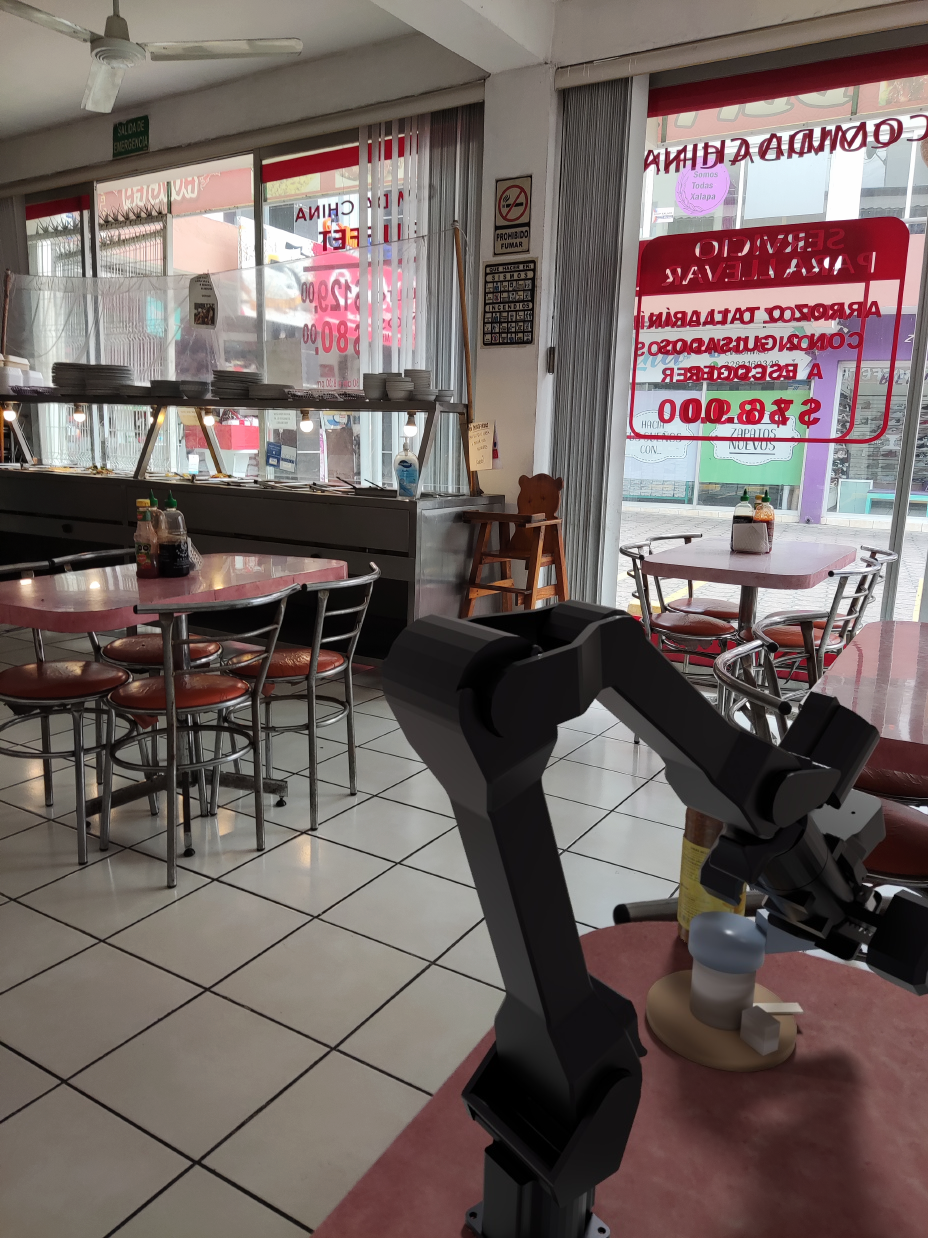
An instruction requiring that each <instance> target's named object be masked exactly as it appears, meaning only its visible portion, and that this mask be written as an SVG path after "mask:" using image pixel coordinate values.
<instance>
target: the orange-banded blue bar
mask: <svg viewBox="0 0 928 1238" xmlns="http://www.w3.org/2000/svg"><path fill="white" fill-rule="evenodd" d="M768 914H769V912H767V910H766V909H765V908H760V909H756V914H755V917H756V918H755V921H754V920H752V919H750V918H748V917H746V916H745V915H744V916H741V915H738V914H734V913H729V912H721V911H711V912H704V913H701V914H698V915H696V916H695V917H694V918H692V920H691V922H690V931H689V943H688V945H687V948H688V951H689V954H690V956H691V957H692V958H694V959H695V960H697V961H698V962H699V963H701V964H703V965H704V966H706V967H708V968H711V969H713V970H716V971H720V972H724V973H731V974H745V973H750V972H754V971H756V970H757V971H758V970H760V968H762V967H763V966H764V964H765V963H764V962H765V955H772V954H775V955H776V954H785V953H795V952H804V951H806V952H807V951H816V950H820V949H819V948H817V947H815V946H814V944H815V943H813V942H809V941H806V940H803V939H799V938H797V937H794V936H792V935H790V934H788V933H786V932H784V931H782V930H780V929H778V928H776V927H774V926H772V925H770V924H769V922H768V920H767V916H768ZM757 971H756V972H757Z"/></svg>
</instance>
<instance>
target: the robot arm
mask: <svg viewBox="0 0 928 1238" xmlns="http://www.w3.org/2000/svg"><path fill="white" fill-rule="evenodd" d="M645 630H646V629H645V628H644V626H643V624H642V623H641V621H639V620H638V619H637V618H635V617H634V616H633V614H630V612H628V611H626V610H624V609H622V608H616V607H611V606H607V605H602V604H598V603H593V602H589V601H585V600H580V599H567V600H564V601H559V602H557V601H556V602H554V603H552V604H548V605H544V606H540V607H537V608H531V609H523V610H514V611H513V610H512V611H506V612H496V613H495V612H493V613H485V614H476V615H471V616H468V617H463V618H457V617H453V616H450V615H446V614H436V613H435V614H432V613H431V614H429V615H424V616H422V617H419V618H416V619H415V620H414V621H412V622H411V623H409V625H407V626H406V627H404V628H403V629H402V630H401V632H400V633H399V635H397V637H396V638H395V640H394V641H393V642H392V645H391V646H390V649H389V652H388V655H386V656H387V657H386V658H384V659H383V660H382V662H381V667H380V680H381V687H382V693H383V696H384V698H385V700H386V702H387V704H388V706H389V708H390V710H391V713H392V714H393V716H394V717H395V720H396V721H397V724H398V725H399V728H400V730H401V731H402V733H403V734H404V737H405V739H406V740H407V743H408V744H409V745H410V746H411V748H412V749H413V751H414V752H415V753H416V754H417V756H418V757H419V759H421V761H422V762H423V764H424V765H425V766H426V767H427V769H428V770H429V771H430V772H431V773H432V775H433V776H434V777H435V779H436V780H437V781H438V783H440V785H441V786H442V788H443V789H444V791H445V793H446V794H447V796H448V799H449V802H450V806H451V808H452V809H451V810H452V813H453V815H454V819H455V823H456V825H457V829H458V832H459V836H460V839H461V842H462V846H463V850H464V852H465V856H466V860H467V863H468V866H469V870H470V873H471V876H472V877H471V878H472V880H473V883H474V887H475V890H476V893H477V897H478V901H479V904H480V907H481V910H482V913H483V917H484V921H485V924H486V927H487V931H488V935H489V938H490V942H491V944H492V948H493V951H494V955H495V957H496V959H495V960H496V961H497V966H498V968H499V969H498V970H499V972H500V976H501V980H502V982H503V985H504V989H505V995H504V997H503V999H502V1001H501V1003H500V1005H499V1007H498V1009H497V1011H496V1013H495V1015H494V1020H493V1025H494V1034H495V1039H494V1041H493V1043H492V1044H491V1046H490V1048H489V1049H488V1051H487V1052H486V1054H485V1055H484V1057H483V1058H482V1060H481V1061H480V1063H479V1065H477V1067H476V1069H475V1071H474V1072H473V1074H472V1075H471V1077H470V1078H469V1080H467V1081H468V1082H467V1083H466V1084H465V1086H464V1088H463V1089H462V1091H461V1094H460V1098H461V1100H462V1103H463V1105H464V1108H465V1111H466V1113H467V1116H468V1117H469V1118H470V1119H471V1120H472V1121H474V1122H476V1123H477V1124H479V1126H480V1127H481V1128H482V1129H483V1130H485V1132H486V1133H487V1134H488V1135H490V1137H491V1138H492V1142H491V1144H488V1145H487V1146H486V1147H485V1148H484V1152H483V1153H484V1157H483V1178H482V1179H483V1180H482V1181H483V1183H482V1185H483V1186H482V1200H481V1201H479V1202H477V1203H476V1204H475V1205H473V1206H472V1207H470V1208H468V1209H467V1211H466V1212H465V1214H464V1222H465V1224H466V1226H467V1227H468V1228H469V1229H470V1231H471V1232H473V1234H474V1235H475V1236H476V1237H477V1238H610V1237H611V1230H610V1228H609V1226H608V1225H607V1224H606V1223H605V1222H603V1220H602V1219H600V1218H599V1217H598V1216H597V1215H596V1214H595V1213H594V1212H593V1211H592V1209H593V1208H594V1207H595V1203H596V1202H595V1201H596V1200H595V1199H596V1187H597V1186H598V1185H600V1183H602V1182H604V1181H605V1180H607V1179H608V1178H610V1177H611V1176H612V1175H614V1174H616V1173H617V1172H618V1171H619V1170H620V1167H621V1164H622V1161H623V1158H624V1155H625V1151H626V1148H627V1145H628V1141H629V1138H630V1134H631V1131H632V1128H633V1124H634V1123H635V1118H636V1116H637V1112H638V1109H639V1106H640V1102H641V1097H642V1087H643V1086H642V1085H643V1066H642V1065H643V1064H642V1062H641V1058H644V1057H646V1056H647V1055H648V1049H647V1048H646V1047H645V1046H644V1045H643V1044H642V1041H641V1038H640V1033H639V1017H638V1014H637V1013H638V1012H637V1011H636V1008H635V1006H634V1003H633V1001H632V1000H631V999H629V998H628V997H626V996H625V995H624V994H622V993H621V992H619V991H617V990H616V989H614V988H613V987H611V986H610V985H609V984H607V983H605V982H604V981H603V980H601V979H600V978H598V977H596V976H595V975H594V974H592V973H591V972H589V970H588V966H587V962H586V957H585V955H584V950H583V947H582V943H581V938H580V934H579V929H578V925H577V921H576V918H575V914H574V913H575V912H574V909H573V905H572V900H571V896H570V892H569V889H568V883H567V881H566V875H565V873H564V869H563V864H562V860H561V856H560V851H559V848H558V843H557V839H556V835H555V832H554V827H553V822H552V818H551V815H550V810H549V806H548V803H547V798H546V794H545V791H544V786H543V775H544V772H545V771H546V768H547V766H548V763H549V761H550V758H551V757H552V754H553V752H554V749H555V747H556V746H557V742H558V738H559V727H558V726H559V725H561V724H564V723H565V722H569V721H572V720H574V719H576V718H579V717H581V716H583V715H584V714H586V712H587V711H588V709H589V708H590V706H591V705H592V704H593V703H594V701H595V700H596V701H597V702H598V703H599V704H600V705H601V706H602V707H604V708H605V709H606V710H607V711H608V712H609V713H610V714H612V715H613V716H614V717H615V718H616V719H617V720H618V721H620V722H621V723H622V724H623V725H624V726H625V727H627V728H628V729H629V730H630V731H631V732H632V733H633V735H635V736H637V737H638V739H640V740H641V741H643V743H645V744H646V745H647V746H648V747H649V748H650V749H651V750H652V751H654V752H655V753H656V755H658V756H659V757H660V759H661V761H662V762H663V763H664V765H665V766H664V774H663V775H664V779H665V780H666V781H667V783H668V785H669V786H670V787H671V789H672V790H673V792H674V793H675V794H676V796H677V798H678V799H679V800H680V802H681V803H682V804H683V805H684V806H685V807H686V808H687V807H689V808H691V809H694V810H696V811H698V812H701V813H703V814H706V815H708V816H710V817H713V818H715V819H717V820H720V821H722V822H724V826H723V829H722V831H721V832H720V834H719V836H718V837H717V839H716V841H715V842H714V844H713V846H712V847H711V849H710V851H709V852H708V854H707V856H706V857H705V859H704V861H703V863H702V864H701V866H700V868H699V882H700V885H701V886H702V887H703V888H704V889H705V891H706V892H707V893H708V894H709V895H712V896H714V897H716V898H718V899H720V900H722V901H724V902H726V903H728V904H730V905H732V906H739V904H740V902H741V901H742V899H741V898H740V896H739V895H738V894H739V892H740V890H741V888H742V887H743V885H744V883H745V882H746V883H747V887H749V888H750V889H753V890H755V891H758V892H760V893H762V894H763V895H765V896H764V898H763V900H762V902H761V906H762V907H763V909H766V910H767V912H769V914H768V916H767V920H768V922H769V924H770V925H772V926H774V927H776V928H778V929H780V930H782V931H784V932H786V933H788V934H790V935H792V936H794V937H797V938H799V939H803V940H806V941H809V942H813V943H815V944H814V946H815V947H817V948H819V949H818V950H822V951H823V952H825V953H827V954H830V955H831V956H834V957H836V958H837V959H840V960H842V961H844V962H852V961H853V960H855V959H856V958H857V956H858V954H859V952H860V949H861V948H862V946H865V947H867V949H866V955H865V964H866V966H867V968H868V969H869V970H870V971H871V972H873V973H874V974H876V975H877V976H878V977H880V978H881V979H883V980H885V981H886V982H889V983H891V984H893V985H894V986H897V987H899V988H901V989H903V990H905V991H907V992H909V993H911V994H914V995H916V996H918V997H921V996H925V995H928V898H926V897H924V896H921V895H919V894H916V893H914V892H912V891H908V890H906V889H904V888H903V889H900V890H899V891H897V892H895V893H894V894H893V896H892V897H891V900H890V901H889V903H888V906H887V908H886V909H885V911H884V913H883V915H882V914H879V913H880V911H881V909H882V905H883V896H882V893H881V892H880V891H878V890H877V889H875V888H873V887H871V886H870V885H867V884H865V883H864V881H865V879H866V877H867V875H868V874H869V873H868V870H867V869H866V867H865V864H864V863H863V862H864V861H865V860H866V859H867V858H868V857H869V856H870V854H871V853H872V852H873V850H875V848H877V846H878V845H879V843H880V842H883V841H884V840H885V838H886V837H887V836H886V835H887V834H886V833H887V832H886V824H885V816H884V815H885V814H884V806H883V803H882V800H881V799H880V798H879V797H876V796H874V795H871V794H868V793H866V792H863V791H859V790H857V789H854V785H855V784H856V782H857V780H858V778H859V777H860V775H861V774H862V771H863V770H864V767H865V766H866V764H867V763H868V761H869V759H870V757H871V756H872V754H873V753H874V750H875V749H876V747H877V746H878V744H879V742H880V739H881V733H880V731H879V730H878V727H876V726H875V725H873V724H871V723H870V722H869V721H867V719H865V718H864V717H863V716H861V715H860V714H859V713H857V712H855V711H854V710H852V709H850V708H849V707H846V706H845V705H843V704H841V702H840V701H839V699H838V697H837V696H835V695H831V694H828V693H825V692H821V691H817V690H810V691H809V693H808V695H807V696H806V697H805V700H804V701H803V703H802V705H801V708H800V709H799V711H798V712H797V714H796V716H795V717H794V719H793V720H792V722H791V723H790V725H789V726H788V728H787V730H786V732H785V733H784V735H783V736H782V738H781V740H780V742H779V743H778V744H775V743H773V742H772V741H770V740H767V739H766V738H763V737H761V736H758V735H756V734H755V733H752V732H750V731H747V730H746V729H743V728H741V727H739V726H737V725H736V724H734V723H733V722H731V721H730V720H728V719H727V718H726V717H725V716H724V715H723V713H721V711H719V709H718V708H716V706H715V705H714V704H713V703H712V702H711V701H710V700H709V699H708V698H707V697H706V696H705V695H704V694H703V693H702V692H701V691H700V690H699V689H698V688H697V687H696V686H695V684H693V683H692V682H691V680H690V679H688V678H687V676H685V675H684V673H683V672H682V671H680V669H679V668H678V667H677V666H676V665H675V664H674V663H673V662H672V660H670V659H669V658H668V657H667V656H666V655H665V653H663V652H662V651H661V650H660V649H659V648H658V647H657V646H656V644H654V642H653V641H652V640H650V639H649V637H648V636H647V635H646V631H645ZM871 933H872V934H871Z"/></svg>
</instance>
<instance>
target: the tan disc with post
mask: <svg viewBox="0 0 928 1238" xmlns="http://www.w3.org/2000/svg"><path fill="white" fill-rule="evenodd" d="M692 958H693V957H692ZM757 971H758V970H756V971H754V972H750V973H745V974H731V973H724V972H720V971H716V970H713V969H711V968H708V967H706V966H704V965H703V964H701V963H699V962H698V961H697V960H695V959H694V958H693V961H692V969H686V970H685V969H684V970H679V971H675V972H671V973H669V974H666V975H665V976H662V977H660V978H659V979H658V980H657V981H656V982H654V983H653V984H652V986H651V987H650V989H649V991H648V992H647V997H646V1007H645V1008H646V1009H645V1010H646V1013H645V1014H646V1015H645V1016H646V1019H647V1022H648V1024H649V1027H650V1028H651V1030H652V1032H653V1034H655V1035H656V1037H657V1038H658V1039H659V1040H660V1041H661V1043H663V1044H664V1045H666V1046H667V1047H668V1048H669V1049H671V1050H672V1051H673V1052H674V1053H677V1054H679V1056H682V1057H683V1058H685V1059H688V1060H690V1061H692V1062H694V1063H697V1064H699V1065H702V1066H704V1067H705V1066H706V1067H709V1068H712V1069H717V1070H720V1071H728V1072H738V1073H745V1072H746V1073H747V1072H749V1073H750V1072H753V1073H754V1072H760V1071H764V1070H768V1069H772V1068H775V1067H777V1066H778V1065H779V1066H780V1064H782V1063H783V1062H785V1061H786V1060H787V1059H788V1058H789V1057H791V1055H792V1053H793V1052H794V1049H795V1047H796V1041H797V1031H798V1027H797V1025H798V1024H797V1021H796V1018H795V1016H794V1015H803V1014H804V1010H803V1008H802V1007H801V1006H800V1004H799V1002H784V1001H783V1000H782V998H780V997H779V996H778V995H777V994H775V993H774V992H772V991H771V990H769V989H768V988H766V987H765V986H763V985H761V984H759V982H756V980H757V979H756V978H757Z"/></svg>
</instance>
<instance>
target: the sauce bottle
mask: <svg viewBox="0 0 928 1238" xmlns="http://www.w3.org/2000/svg"><path fill="white" fill-rule="evenodd" d="M684 817H685V818H684V819H685V822H684V831H683V834H682V845H681V855H680V856H681V857H680V858H681V859H680V860H681V861H680V871H679V874H680V875H679V886H678V903H677V915H676V916H677V917H676V918H677V921H678V923H677V935H678V936H679V935H680V937H681V938H682V939H683V940H684V941H685V942H686V943H687V944H688V943H689V931H690V922H691V920H692V918H694V917H695V916H696V915H698V914H701V913H704V912H711V911H721V912H729V913H734V914H738V915H741V916H744V917H745V910H746V902H747V901H746V899H747V887H748V885H747V883H746V882H745V883H744V885H743V887H742V888H741V890H740V892H739V894H738V895H739V896H740V898H741V899H742V901H741V902H740V904H739V906H732V905H730V904H728V903H726V902H724V901H722V900H720V899H718V898H716V897H714V896H712V895H709V894H708V893H707V892H706V891H705V889H704V888H703V887H702V886H701V885H700V882H699V868H700V866H701V864H702V863H703V861H704V859H705V857H706V856H707V854H708V852H709V851H710V849H711V847H712V846H713V844H714V842H715V841H716V839H717V837H718V836H719V834H720V832H721V831H722V829H723V826H724V822H722V821H720V820H717V819H715V818H713V817H710V816H708V815H706V814H703V813H701V812H698V811H696V810H694V809H691V808H689V807H687V806H686V809H685V816H684ZM680 937H679V938H680ZM681 938H680V939H681ZM683 940H682V941H683ZM684 941H683V942H684ZM685 942H684V943H685ZM686 943H685V944H686ZM687 944H686V945H687Z"/></svg>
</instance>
